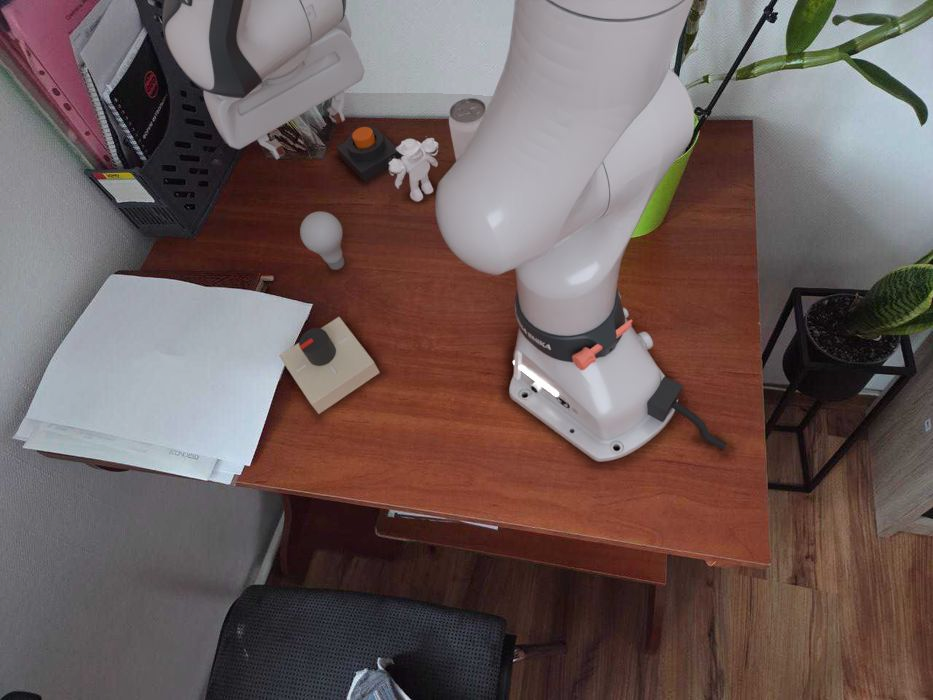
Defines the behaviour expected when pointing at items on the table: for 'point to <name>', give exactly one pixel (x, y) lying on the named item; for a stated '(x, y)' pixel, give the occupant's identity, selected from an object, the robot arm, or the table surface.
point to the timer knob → (317, 346)
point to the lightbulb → (323, 237)
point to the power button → (363, 137)
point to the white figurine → (415, 165)
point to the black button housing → (369, 155)
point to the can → (465, 122)
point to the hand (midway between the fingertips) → (309, 137)
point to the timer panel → (331, 368)
